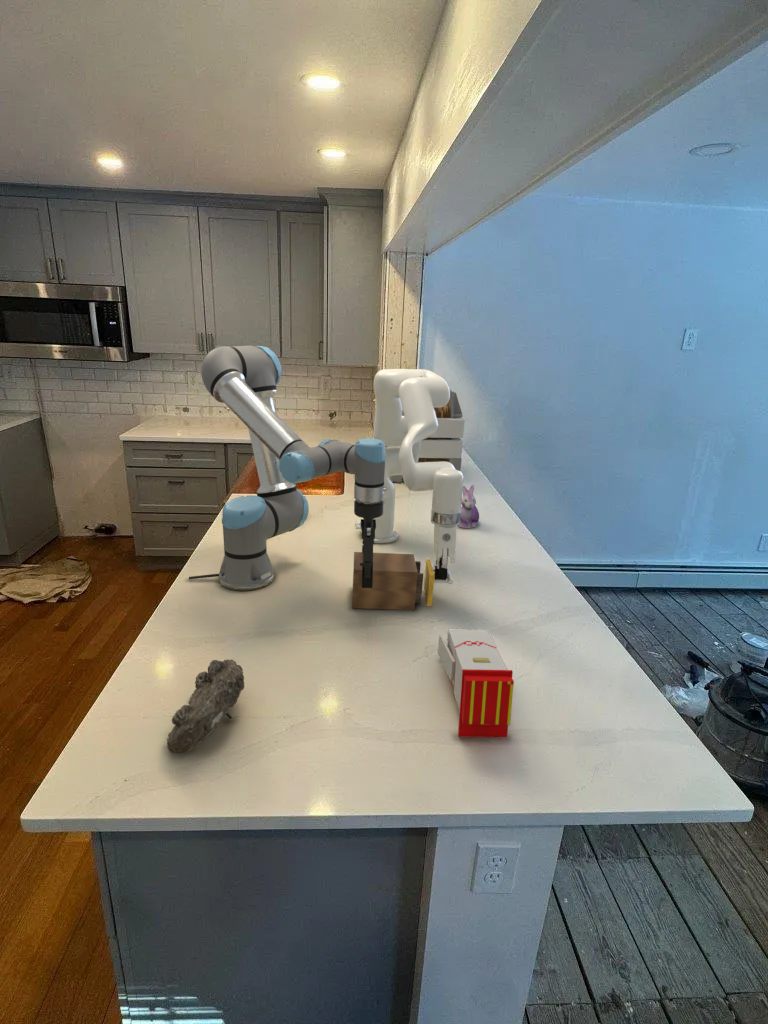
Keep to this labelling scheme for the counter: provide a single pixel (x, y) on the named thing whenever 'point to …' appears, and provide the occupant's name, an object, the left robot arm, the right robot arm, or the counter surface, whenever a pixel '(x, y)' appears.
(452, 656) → the toy
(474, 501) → the figurine
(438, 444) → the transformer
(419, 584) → the drawer
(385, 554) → the cabinet
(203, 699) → the fossil
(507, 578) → the counter surface
